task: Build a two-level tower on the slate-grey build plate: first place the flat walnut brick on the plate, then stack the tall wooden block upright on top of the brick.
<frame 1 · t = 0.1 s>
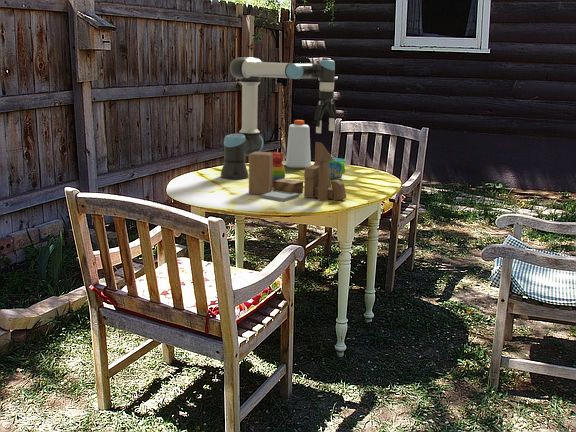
hand: (325, 131, 350), 28 cm above the table, tool pointing down, fingers open, 13 cm apart
snack cup: (335, 177, 378), on the table
wooden block: (260, 193, 332), on the table
wooden blocks: (327, 197, 326), on the table
build plate: (280, 197, 323), on the table
plastic bottle: (298, 166, 412), on the table
walnut brick: (288, 192, 335), on the table
stacking bear: (276, 186, 350), on the table
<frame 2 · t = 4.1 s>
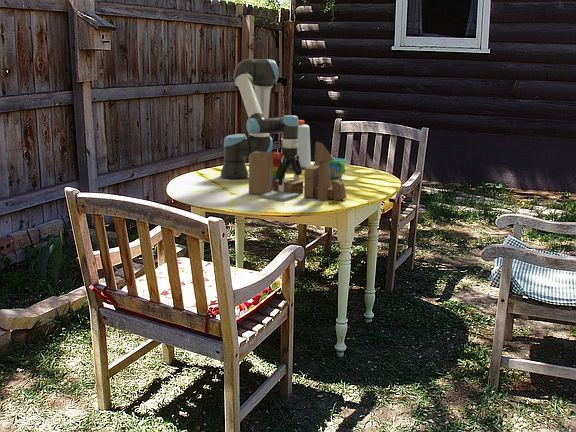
hand: (288, 189, 334), 1 cm above the table, tool pointing down, fingers open, 13 cm apart
nothing on the table moved.
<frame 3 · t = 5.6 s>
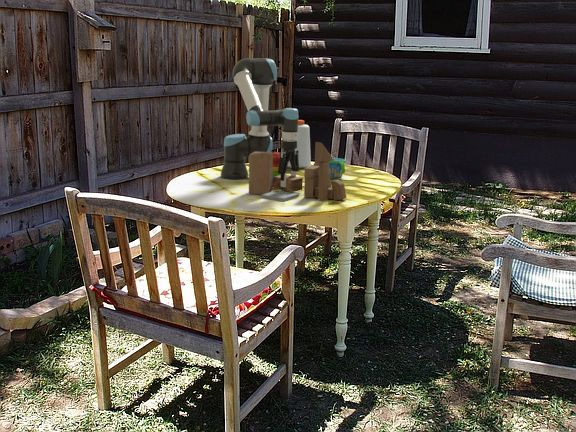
hand: (288, 185, 334), 4 cm above the table, tool pointing down, fingers closed on walnut brick, 8 cm apart
walnut brick: (287, 189, 335), point 2 cm above the table, touching gripper
everything else where it was.
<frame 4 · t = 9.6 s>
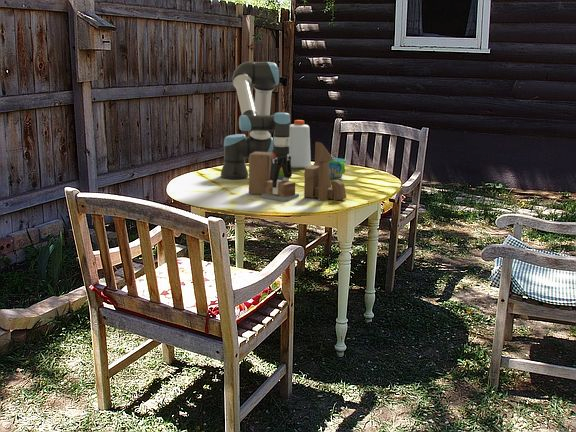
hand: (280, 192, 322), 2 cm above the table, tool pointing down, fingers closed on walnut brick, 8 cm apart
walnut brick: (280, 194, 323), point 1 cm above the table, touching build plate, gripper
everything else where it was.
when the fingers open (2 cm above the table, at t = 10.1 s): walnut brick stays where it is, resting on build plate.
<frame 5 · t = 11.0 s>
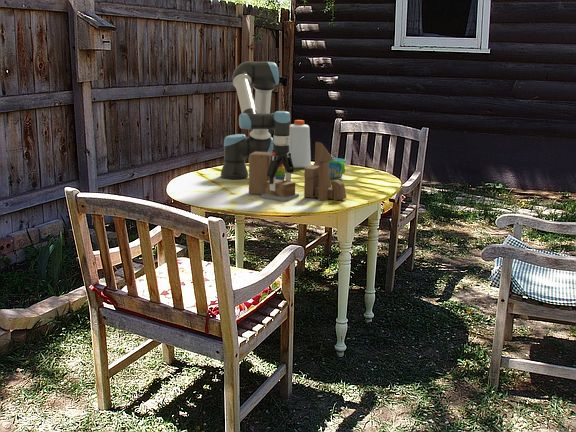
hand: (280, 188, 322), 4 cm above the table, tool pointing down, fingers open, 13 cm apart
walnut brick: (280, 194, 323), point 1 cm above the table, touching build plate
everything else where it was.
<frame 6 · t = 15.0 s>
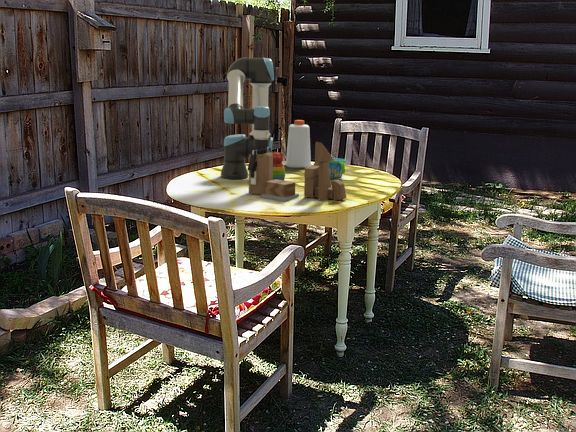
hand: (260, 182, 330), 5 cm above the table, tool pointing down, fingers closed on wooden block, 12 cm apart
wooden block: (260, 193, 331), on the table, touching gripper
everything else where it was.
when the fingers open (14 cm above the table, at t = 22.7 s): wooden block drops 1 cm, resting on walnut brick.
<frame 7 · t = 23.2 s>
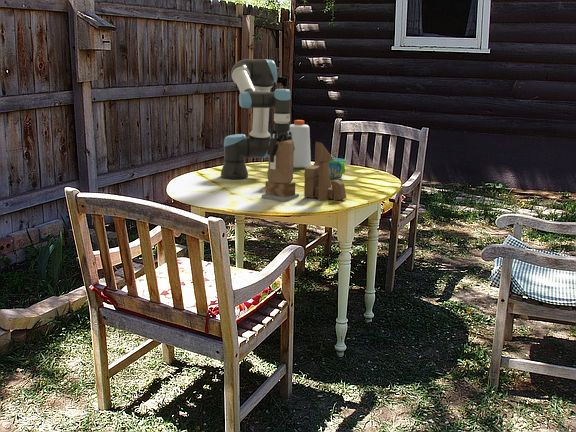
hand: (280, 167, 320), 15 cm above the table, tool pointing down, fingers open, 13 cm apart
wooden block: (280, 182, 321), point 7 cm above the table, touching walnut brick
walnut brick: (280, 194, 323), point 1 cm above the table, touching build plate, wooden block
everything else where it was.
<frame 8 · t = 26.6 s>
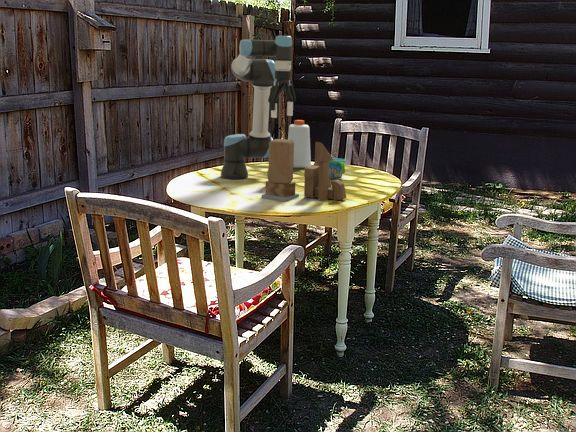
hand: (282, 116, 314), 39 cm above the table, tool pointing down, fingers open, 13 cm apart
nothing on the table moved.
at the end: wooden block inside the target area on the walnut brick (0.2 cm from its centre), point 5.8 cm above the walnut brick's base; wooden block tilted 0°; walnut brick inside the target area on the build plate (0.1 cm from its centre), point 1.5 cm above the build plate's base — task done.
